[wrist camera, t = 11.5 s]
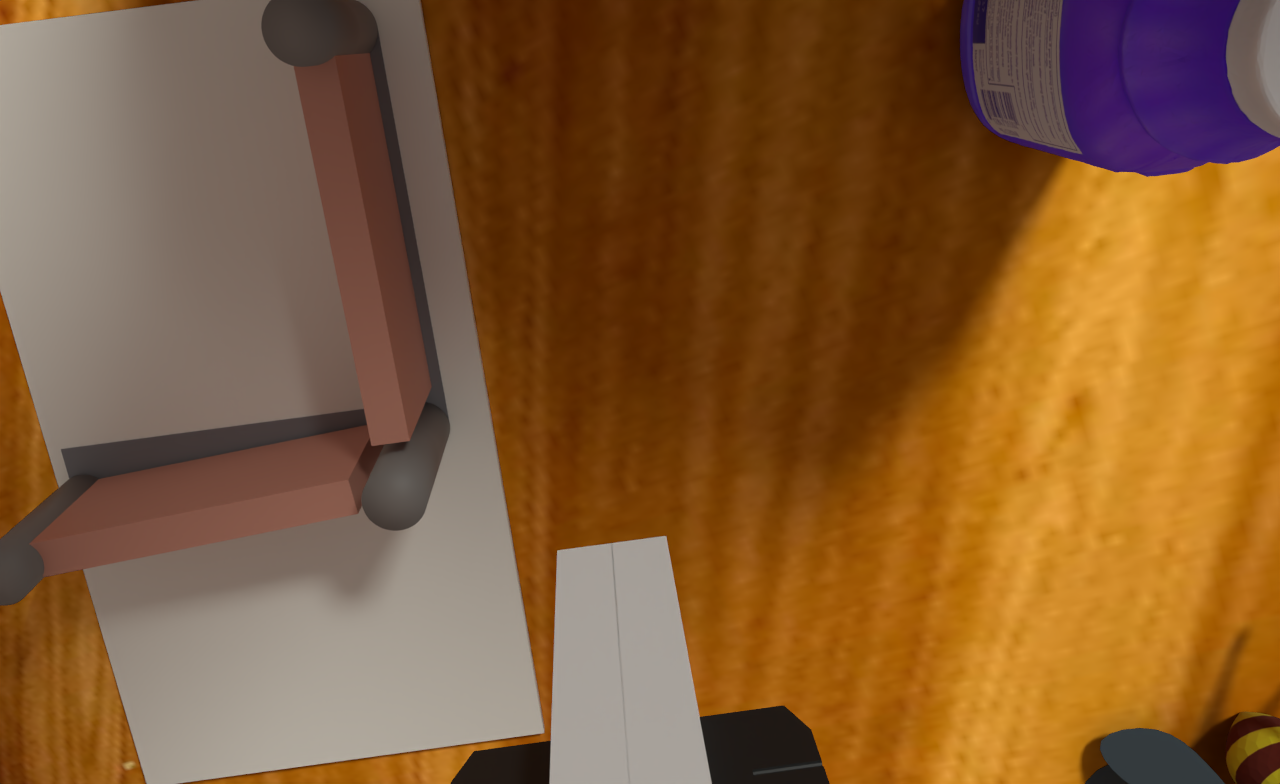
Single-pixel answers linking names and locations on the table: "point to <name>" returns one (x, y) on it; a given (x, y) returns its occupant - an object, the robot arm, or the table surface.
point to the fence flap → (187, 506)
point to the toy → (1192, 756)
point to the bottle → (1127, 79)
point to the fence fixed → (365, 245)
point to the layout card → (251, 388)
